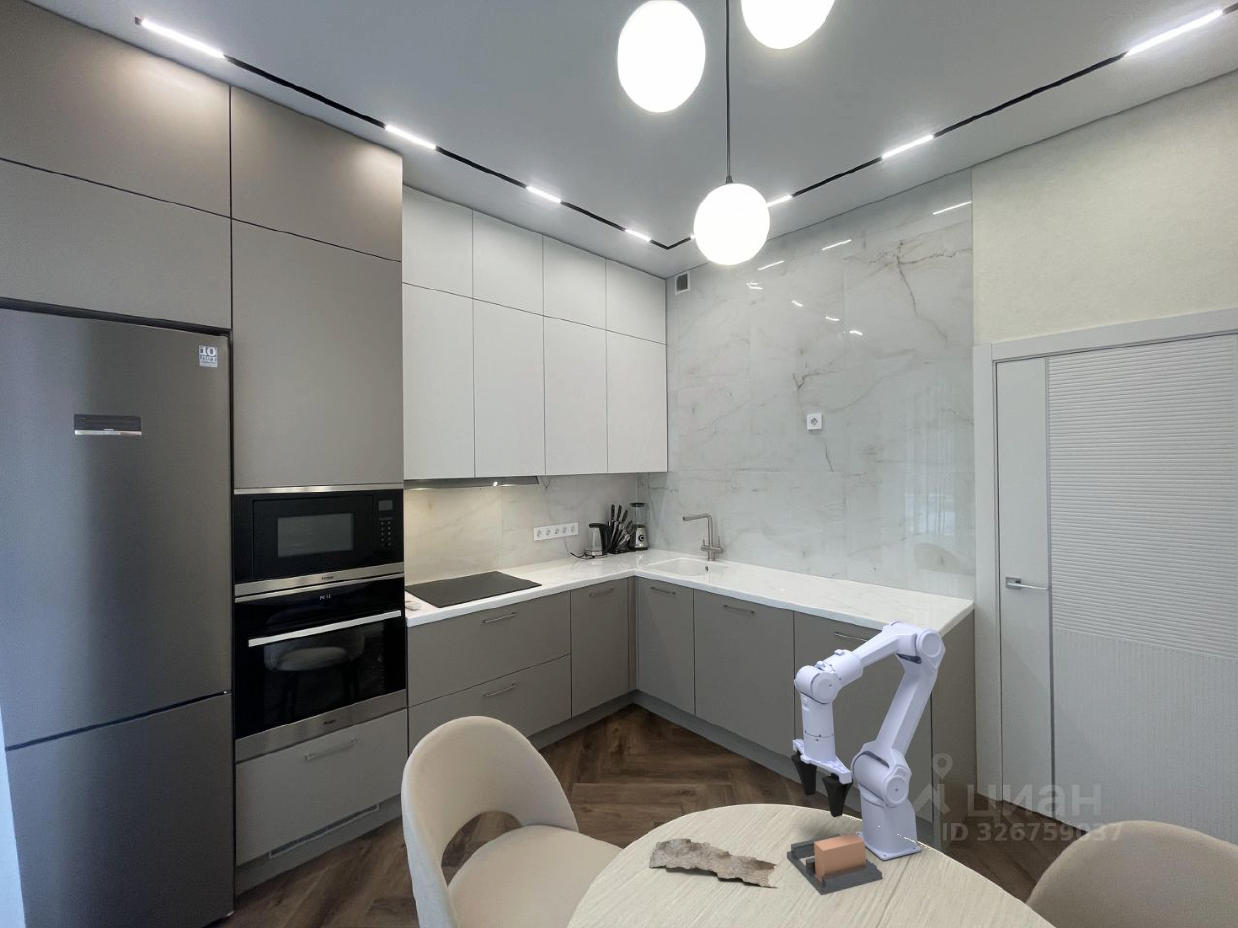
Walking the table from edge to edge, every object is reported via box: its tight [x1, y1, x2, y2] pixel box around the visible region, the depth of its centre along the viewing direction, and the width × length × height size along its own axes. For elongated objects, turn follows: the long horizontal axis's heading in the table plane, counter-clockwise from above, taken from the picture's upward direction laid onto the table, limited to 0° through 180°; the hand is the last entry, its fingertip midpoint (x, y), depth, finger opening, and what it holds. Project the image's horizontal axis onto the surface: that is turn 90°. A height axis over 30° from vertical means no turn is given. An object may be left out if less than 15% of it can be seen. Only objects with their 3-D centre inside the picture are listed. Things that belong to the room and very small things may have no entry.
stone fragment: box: [648, 837, 779, 889], centre depth 94 cm, size 25×3×10 cm
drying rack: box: [786, 833, 883, 896], centre depth 92 cm, size 13×10×2 cm
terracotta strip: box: [814, 832, 867, 883], centre depth 90 cm, size 9×2×6 cm, turn 106°
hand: (822, 804), depth 97 cm, fingers open, 7 cm apart
